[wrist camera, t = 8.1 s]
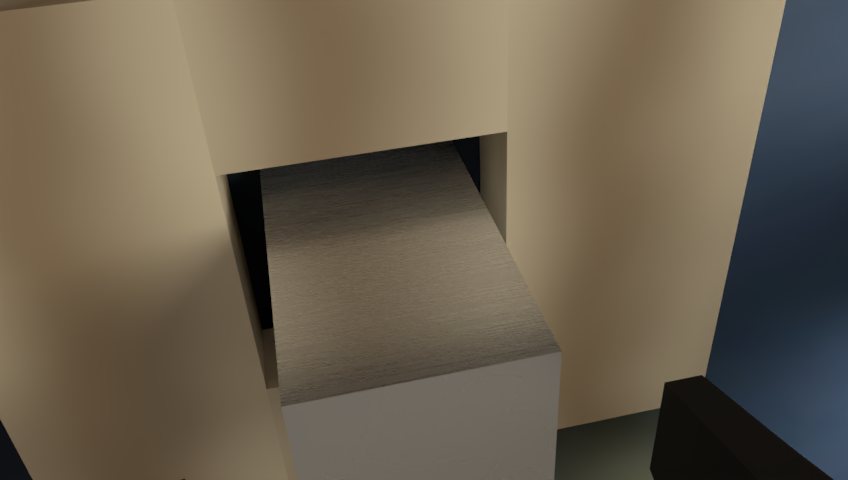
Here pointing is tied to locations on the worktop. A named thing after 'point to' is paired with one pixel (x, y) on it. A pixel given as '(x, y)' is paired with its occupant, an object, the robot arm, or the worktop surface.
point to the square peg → (404, 324)
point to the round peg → (607, 448)
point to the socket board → (337, 137)
